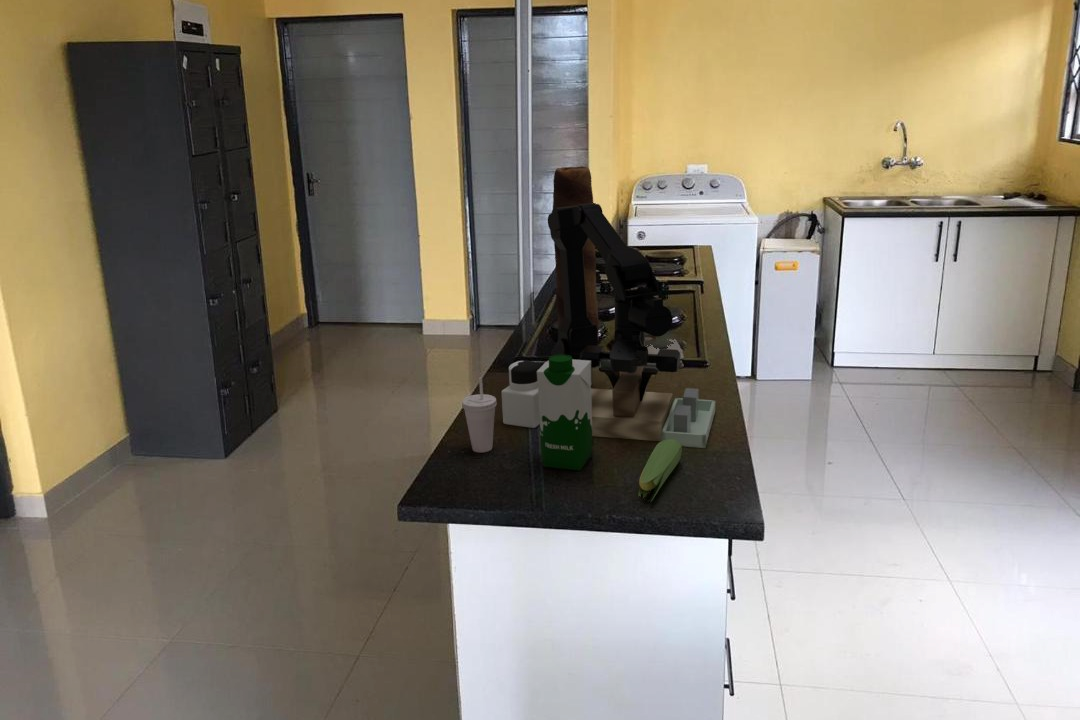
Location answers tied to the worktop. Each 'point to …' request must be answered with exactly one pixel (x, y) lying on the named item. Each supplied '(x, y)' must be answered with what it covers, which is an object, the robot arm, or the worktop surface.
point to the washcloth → (673, 346)
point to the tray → (698, 428)
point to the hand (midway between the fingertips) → (630, 399)
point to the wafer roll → (574, 191)
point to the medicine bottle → (521, 395)
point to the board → (628, 427)
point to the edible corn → (659, 466)
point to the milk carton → (565, 412)
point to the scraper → (627, 393)
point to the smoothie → (480, 419)
